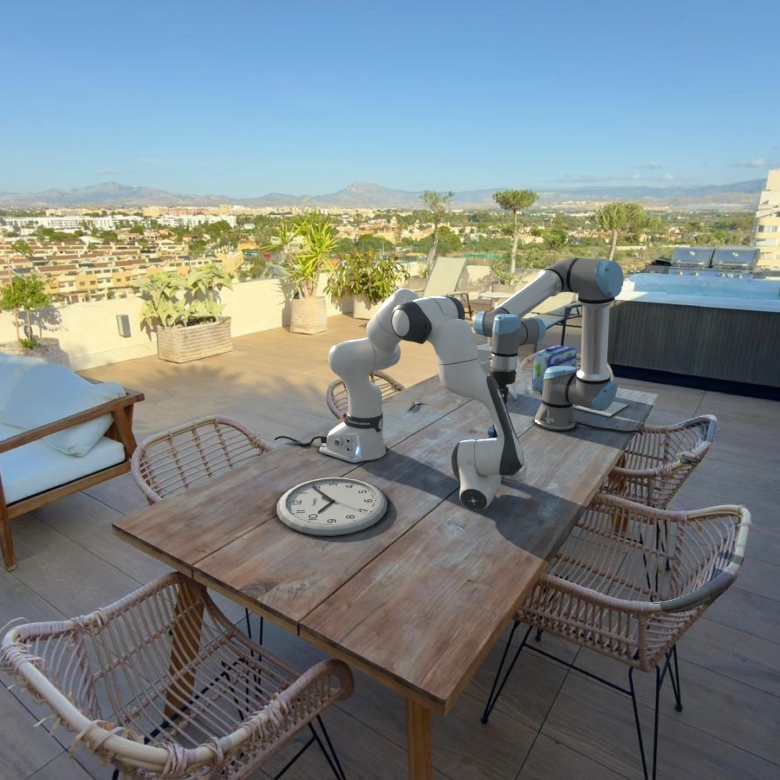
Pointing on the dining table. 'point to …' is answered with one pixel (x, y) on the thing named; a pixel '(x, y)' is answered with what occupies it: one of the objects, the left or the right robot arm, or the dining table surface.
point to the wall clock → (331, 506)
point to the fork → (415, 403)
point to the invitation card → (609, 411)
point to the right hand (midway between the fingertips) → (496, 441)
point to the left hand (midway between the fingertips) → (496, 456)
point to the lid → (491, 431)
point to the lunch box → (551, 363)
